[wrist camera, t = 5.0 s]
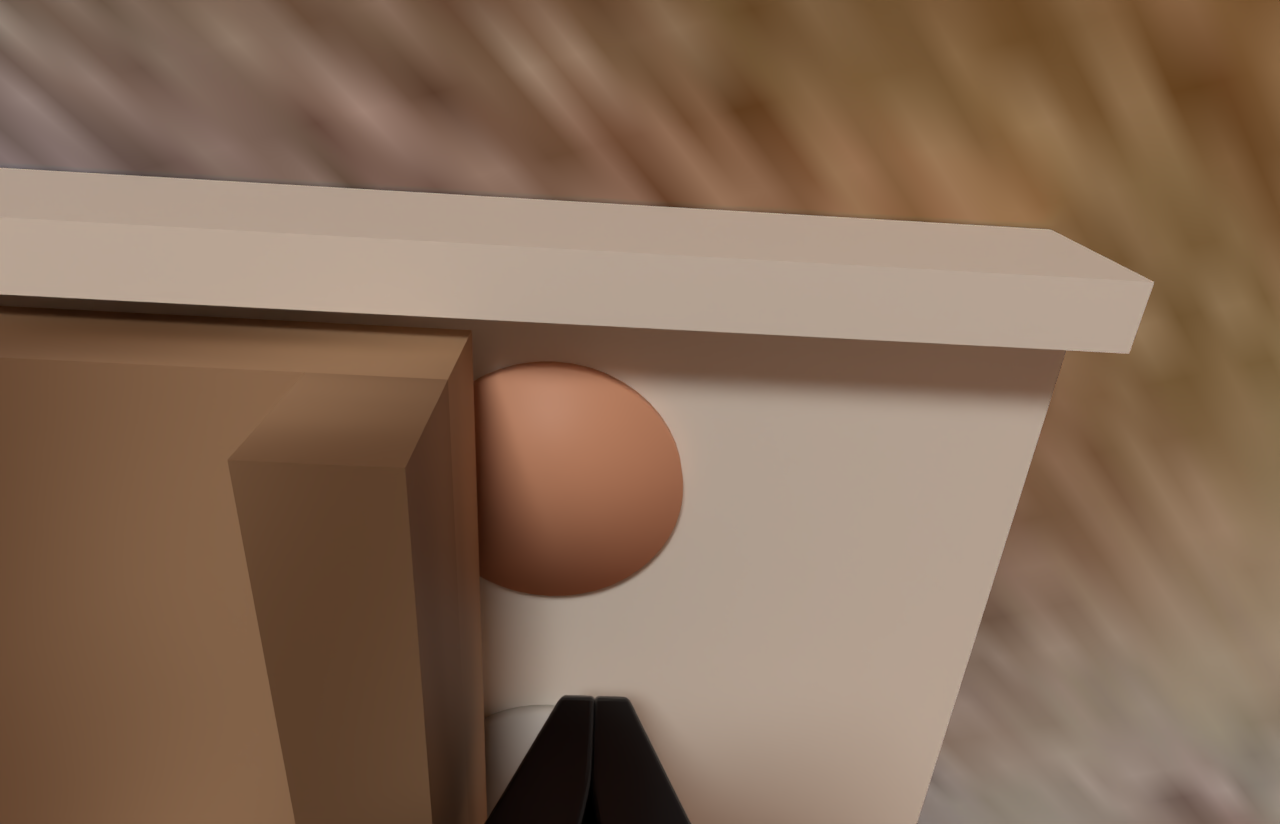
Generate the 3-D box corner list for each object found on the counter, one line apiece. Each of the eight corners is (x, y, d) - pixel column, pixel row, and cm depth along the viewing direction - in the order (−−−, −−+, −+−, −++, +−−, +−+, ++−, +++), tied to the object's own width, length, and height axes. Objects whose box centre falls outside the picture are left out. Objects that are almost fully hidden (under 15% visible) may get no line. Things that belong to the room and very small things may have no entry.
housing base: (1050, 228, 9) (1154, 282, 7) (868, 862, 14) (906, 987, 12) (-440, 142, 8) (-725, 176, 7) (-90, 838, 13) (-201, 967, 12)
